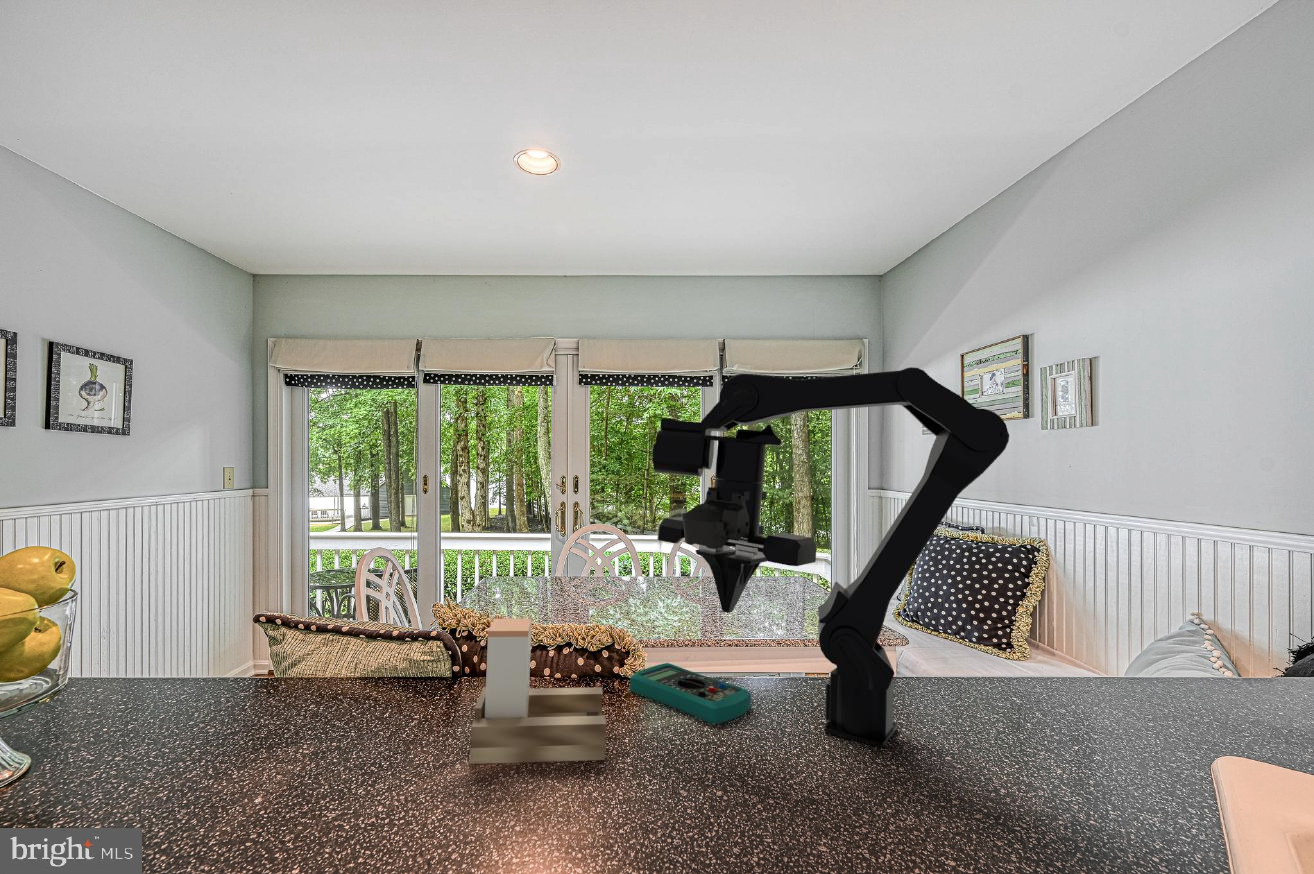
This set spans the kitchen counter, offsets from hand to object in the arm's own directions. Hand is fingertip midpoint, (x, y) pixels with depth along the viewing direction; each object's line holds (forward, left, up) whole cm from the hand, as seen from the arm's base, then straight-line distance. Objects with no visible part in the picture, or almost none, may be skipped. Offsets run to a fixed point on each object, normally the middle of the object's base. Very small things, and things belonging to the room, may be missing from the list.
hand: (727, 611), depth 75 cm
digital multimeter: (+6, -1, -13) cm, 14 cm away
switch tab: (+15, +21, -10) cm, 27 cm away
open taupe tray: (+12, +18, -12) cm, 25 cm away
